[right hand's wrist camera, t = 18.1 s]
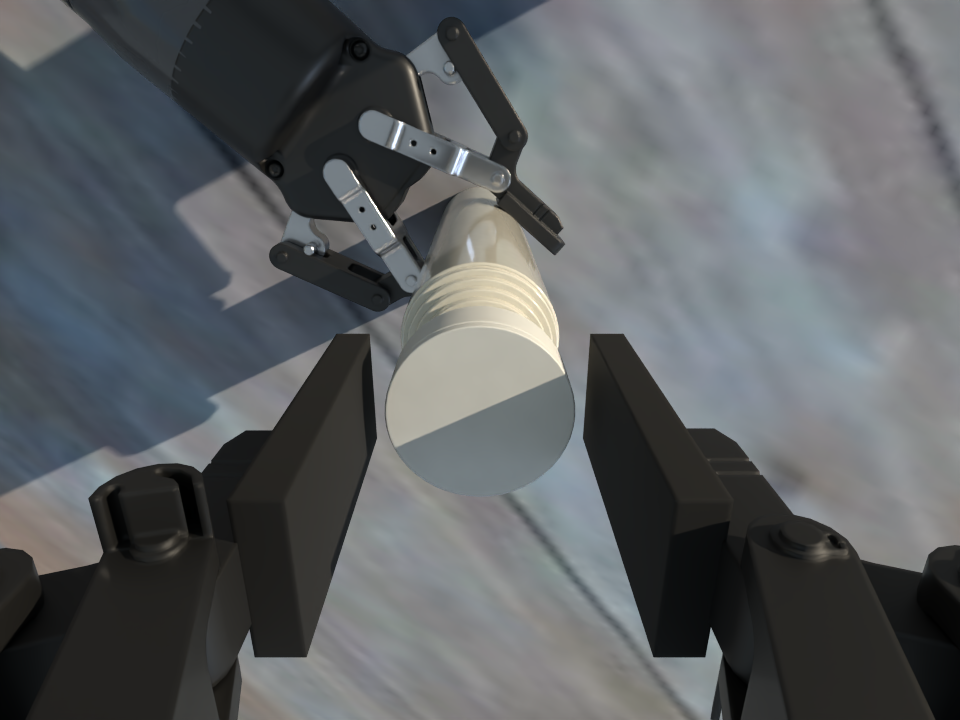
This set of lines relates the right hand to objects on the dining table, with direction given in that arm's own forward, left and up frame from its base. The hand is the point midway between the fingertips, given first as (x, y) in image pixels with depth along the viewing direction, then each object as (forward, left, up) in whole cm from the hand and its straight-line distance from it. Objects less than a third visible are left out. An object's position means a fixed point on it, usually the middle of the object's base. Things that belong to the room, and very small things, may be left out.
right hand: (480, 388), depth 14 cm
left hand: (-1, -3, -16) cm, 16 cm away
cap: (0, 0, +1) cm, 1 cm away
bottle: (0, 0, -23) cm, 23 cm away
